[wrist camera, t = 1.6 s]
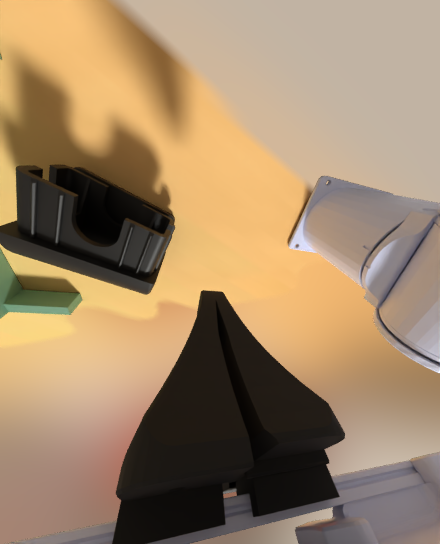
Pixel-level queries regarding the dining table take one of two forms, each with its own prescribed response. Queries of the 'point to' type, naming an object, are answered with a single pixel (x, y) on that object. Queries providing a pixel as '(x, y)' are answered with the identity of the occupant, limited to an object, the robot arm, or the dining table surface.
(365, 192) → the robot arm
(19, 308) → the putting pocket
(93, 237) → the black plastic holder
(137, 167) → the dining table surface
